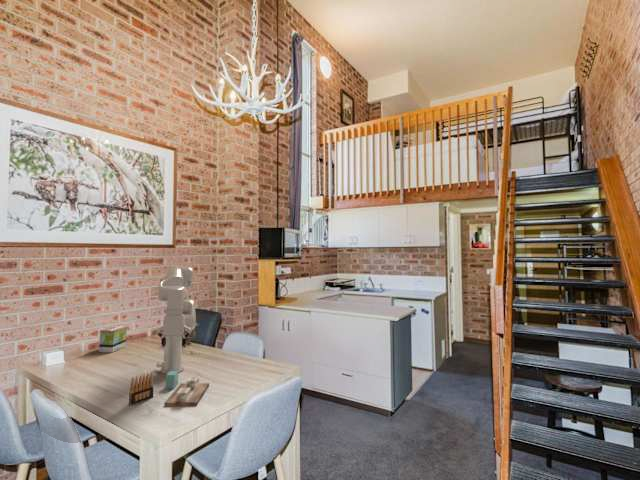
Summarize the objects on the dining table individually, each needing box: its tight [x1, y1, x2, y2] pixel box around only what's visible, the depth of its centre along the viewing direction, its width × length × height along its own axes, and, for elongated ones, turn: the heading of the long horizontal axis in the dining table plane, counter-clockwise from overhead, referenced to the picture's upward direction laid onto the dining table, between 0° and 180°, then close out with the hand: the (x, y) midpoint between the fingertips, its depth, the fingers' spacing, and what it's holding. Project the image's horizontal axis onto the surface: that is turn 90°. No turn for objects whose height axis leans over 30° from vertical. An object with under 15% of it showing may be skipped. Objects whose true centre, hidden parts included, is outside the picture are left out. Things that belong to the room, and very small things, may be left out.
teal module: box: [165, 371, 179, 390], centre depth 172 cm, size 4×6×7 cm, turn 4°
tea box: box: [98, 325, 128, 353], centre depth 235 cm, size 15×10×15 cm, turn 179°
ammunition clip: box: [128, 371, 154, 406], centre depth 156 cm, size 11×2×12 cm, turn 149°
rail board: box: [163, 376, 210, 407], centre depth 162 cm, size 14×22×5 cm, turn 4°
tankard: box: [180, 322, 199, 344], centre depth 255 cm, size 20×13×15 cm, turn 81°
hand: (173, 346), depth 173 cm, fingers open, 9 cm apart
